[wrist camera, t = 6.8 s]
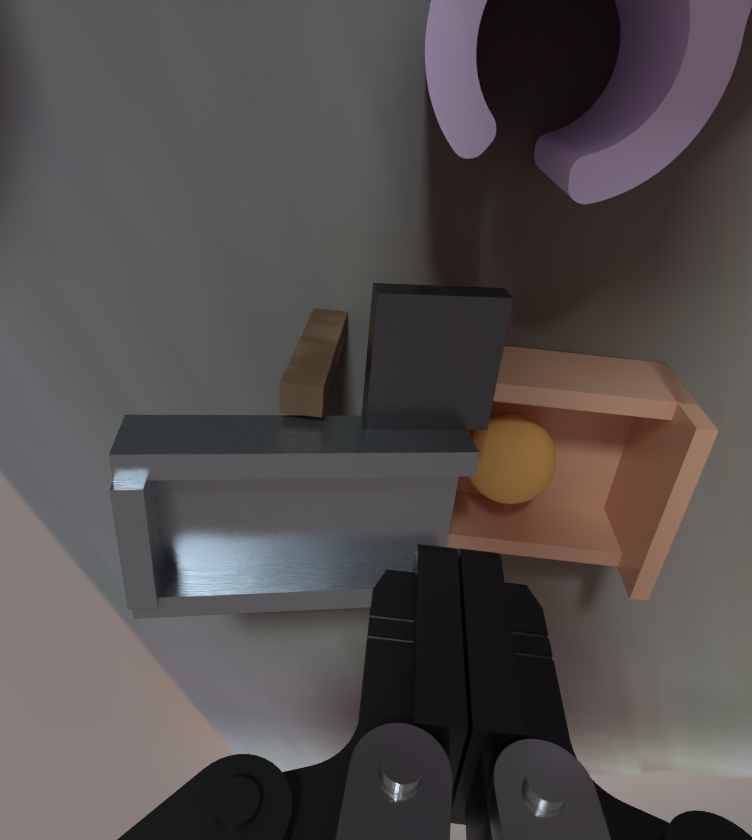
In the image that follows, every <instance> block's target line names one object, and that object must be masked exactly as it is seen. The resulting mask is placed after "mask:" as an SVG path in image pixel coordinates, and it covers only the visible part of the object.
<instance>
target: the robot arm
mask: <svg viewBox="0 0 752 840" xmlns="http://www.w3.org/2000/svg"><path fill="white" fill-rule="evenodd" d="M450 823H455V824H464V825H466V838H467V840H752V837H751V836H750V835H749V834H748V833H746V832H745V831H744V830H743V829H741V828H740V827H738V826H737V825H736V824H734V823H733V822H731V821H729V820H727V819H725V818H723V817H721V816H718V815H716V814H713V813H709V812H705V811H688V812H684V813H682V814H679V815H678V816H676V817H675V818H674V819H673V820H672V821H671V822H670V823H668V822H666V821H664V820H662V819H659V818H657V817H655V816H653V815H650V814H648V813H646V812H643V811H642V810H639V809H637V808H635V807H633V806H630V805H628V804H626V803H624V802H622V801H620V800H618V799H616V798H614V797H613V796H611V795H610V794H608V793H607V792H605V791H604V790H603V789H602V788H601V787H599V786H598V785H597V784H596V783H595V782H594V781H593V780H592V779H591V777H590V775H589V774H588V772H587V771H586V769H585V768H584V767H583V765H582V764H581V763H580V762H579V761H578V760H577V758H576V756H575V753H574V751H573V749H572V745H571V742H570V737H569V733H568V728H567V723H566V718H565V713H564V709H563V704H562V699H561V694H560V689H559V685H558V680H557V675H556V670H555V665H554V661H552V651H551V646H550V641H549V639H548V632H547V627H546V622H545V617H544V613H543V608H542V607H541V605H540V604H539V603H538V601H537V600H536V598H535V597H534V595H533V594H532V592H531V591H530V590H529V588H528V587H527V585H520V584H512V583H504V576H503V570H502V563H501V557H500V554H499V553H495V552H486V551H478V550H469V549H460V548H459V549H458V552H457V549H456V548H449V547H441V546H432V545H423V544H417V546H416V551H415V558H414V564H413V570H412V572H405V571H396V570H387V569H386V571H385V572H384V574H383V575H382V577H381V578H380V579H379V581H378V582H377V584H376V585H375V587H374V588H373V591H372V600H371V609H370V618H369V626H368V635H367V644H366V653H365V663H364V673H363V682H362V692H361V701H360V711H359V720H358V726H357V728H356V731H355V733H354V735H353V737H352V738H351V740H350V741H349V743H348V744H347V745H346V746H345V747H344V748H343V749H342V750H341V751H340V752H339V753H338V754H336V755H335V756H333V757H332V758H330V759H328V760H326V761H324V762H322V763H319V764H316V765H312V766H308V767H304V768H299V769H295V770H290V771H286V772H281V770H280V769H279V768H278V767H277V766H275V765H274V764H273V763H272V762H270V761H268V760H267V759H265V758H262V757H259V756H256V755H250V754H237V755H231V756H227V757H224V758H221V759H219V760H217V761H216V762H213V763H211V764H210V765H209V766H207V767H206V768H204V769H203V770H202V771H201V772H199V773H198V774H197V775H196V776H194V777H193V778H192V779H191V780H190V781H188V782H187V783H186V784H185V785H183V786H182V787H181V788H180V789H179V790H177V791H176V792H175V793H174V794H172V795H171V796H170V797H169V798H168V799H166V800H165V801H164V802H163V803H161V804H160V805H159V806H158V807H157V808H155V809H154V810H153V811H152V812H150V813H149V814H148V815H147V816H146V817H145V818H143V819H142V820H141V821H139V822H138V823H137V824H136V825H135V826H133V827H132V828H131V829H130V830H128V831H127V832H126V833H125V834H124V835H122V836H121V837H120V838H119V839H117V840H450Z"/></svg>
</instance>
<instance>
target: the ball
mask: <svg viewBox="0 0 752 840" xmlns="http://www.w3.org/2000/svg"><path fill="white" fill-rule="evenodd" d="M471 438H472V440H473V441H474V443H475V445H476V447H477V449H478V451H479V455H478V460H477V466H476V471H475V476H469V478H470V480H471V482H472V483H473V485H474V486H475V487H476V488H477V489H478V491H479V492H481V493H482V494H483V495H485V496H486V497H488V498H489V499H492V500H494V501H496V502H500V503H506V504H517V503H523V502H526V501H529V500H531V499H533V498H535V497H536V496H538V495H539V494H540V493H542V492H543V491H544V490H545V489H546V487H547V486H548V485H549V483H550V482H551V480H552V478H553V475H554V472H555V468H556V451H555V447H554V444H553V442H552V439H551V438H550V436H549V434H548V433H547V432H546V431H545V429H544V428H543V427H542V426H541V425H539V424H538V423H536V422H535V421H533V420H532V419H529V418H527V417H524V416H521V415H515V414H505V415H500V416H496V417H493V418H491V419H489V423H488V428H487V430H475V431H474V433H473V434H472V435H471Z"/></svg>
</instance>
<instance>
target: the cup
mask: <svg viewBox="0 0 752 840" xmlns="http://www.w3.org/2000/svg"><path fill="white" fill-rule="evenodd" d="M505 414H515V415H521V416H524V417H527V418H529V419H532V420H533V421H535V422H536V423H538V424H539V425H541V426H542V427H543V428H544V429H545V431H546V432H547V433H548V434H549V436H550V438H551V439H552V442H553V444H554V447H555V451H556V468H555V472H554V475H553V478H552V480H551V482H550V483H549V485H548V486H547V487H546V489H545V490H544V491H543V492H542V493H540V494H539V495H538V496H536V497H535V498H533V499H531V500H529V501H526V502H523V503H517V504H506V503H500V502H496V501H494V500H492V499H489V498H488V497H486V496H485V495H483V494H482V493H481V492H479V491H478V489H477V488H476V487H475V486H474V485H473V483H472V482H471V480H470V478H469V476H459V479H458V484H457V489H456V495H455V500H454V506H453V511H452V517H451V522H450V528H449V533H448V538H447V544H446V547H449V548H456V549H459V548H460V549H469V550H478V551H486V552H495V553H500V554H509V555H518V556H527V557H535V558H544V559H553V560H562V561H571V562H580V563H589V564H597V565H606V566H615V567H618V570H619V572H620V575H621V578H622V580H623V583H624V585H625V588H626V591H627V593H628V596H629V599H636V600H645V601H648V600H649V598H650V595H651V593H652V590H653V588H654V586H655V583H656V581H657V578H658V576H659V573H660V571H661V569H662V566H663V564H664V561H665V559H666V557H667V554H668V552H669V549H670V547H671V545H672V542H673V540H674V537H675V535H676V533H677V530H678V528H679V525H680V523H681V521H682V518H683V516H684V513H685V511H686V508H687V506H688V504H689V501H690V499H691V496H692V494H693V492H694V489H695V487H696V484H697V482H698V480H699V477H700V475H701V472H702V470H703V468H704V465H705V463H706V460H707V458H708V455H709V453H710V451H711V448H712V446H713V443H714V441H715V439H716V436H717V434H718V431H719V430H718V429H717V428H716V427H715V425H714V424H713V423H712V422H711V420H710V419H709V418H708V417H707V415H706V414H705V413H704V412H703V410H702V409H701V408H700V407H699V405H698V404H697V403H696V402H695V400H694V399H693V398H692V397H691V395H690V394H689V393H688V392H687V390H686V389H685V388H684V387H683V385H682V384H681V383H680V382H679V380H678V379H677V378H676V377H675V375H674V374H673V373H672V372H671V370H670V369H669V368H668V366H667V365H666V364H665V363H660V362H651V361H642V360H632V359H623V358H614V357H604V356H595V355H586V354H576V353H567V352H558V351H548V350H539V349H529V348H520V347H511V346H504V349H503V354H502V359H501V364H500V369H499V374H498V379H497V384H496V389H495V394H494V399H493V404H492V409H491V414H490V419H491V418H493V417H496V416H500V415H505ZM474 431H475V430H468V432H469V434H470V436H471V435H472V434H473V433H474Z"/></svg>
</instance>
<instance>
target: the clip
mask: <svg viewBox="0 0 752 840" xmlns="http://www.w3.org/2000/svg"><path fill="white" fill-rule="evenodd" d="M614 1H615V3H616V7H617V10H618V15H619V20H620V48H619V53H618V58H617V62H616V65H615V68H614V71H613V74H612V76H611V78H610V80H609V82H608V84H607V86H606V88H605V90H604V91H603V93H602V94H601V96H600V97H599V98H598V100H597V101H596V102H595V103H594V104H593V106H592V107H591V108H590V109H589V110H588V111H587V112H586V113H584V114H583V115H582V116H581V117H579V118H578V119H577V120H575V121H574V122H572V123H571V124H569V125H567V126H565V127H563V128H561V129H558V130H556V131H552V132H549V133H546V134H544V135H542V136H541V137H540V138H539V139H538V140H537V142H536V145H535V152H534V161H535V164H536V166H537V167H538V168H539V169H540V170H541V171H542V172H543V173H545V174H546V175H547V176H548V177H549V178H550V179H551V180H552V181H553V182H554V183H555V184H557V185H558V186H559V187H560V188H561V189H562V190H563V191H564V192H565V193H566V194H567V195H569V196H570V197H571V198H572V199H573V200H574V201H575V202H577V203H579V204H591V203H595V202H599V201H603V200H606V199H609V198H612V197H615V196H617V195H619V194H622V193H624V192H626V191H628V190H630V189H632V188H634V187H636V186H638V185H640V184H641V183H643V182H645V181H646V180H648V179H649V178H651V177H652V176H654V175H655V174H657V173H658V172H659V171H661V170H662V169H663V168H664V167H666V166H667V165H668V164H669V163H670V162H672V161H673V160H674V159H675V158H676V157H677V156H678V155H679V154H680V153H681V152H682V151H683V150H684V149H685V148H686V147H687V146H688V145H689V144H690V143H691V141H692V140H693V139H694V138H695V137H696V135H697V134H698V133H699V132H700V130H701V129H702V128H703V126H704V125H705V124H706V122H707V121H708V119H709V118H710V116H711V115H712V113H713V111H714V110H715V108H716V107H717V105H718V103H719V101H720V99H721V97H722V95H723V94H724V91H725V89H726V87H727V85H728V83H729V81H730V78H731V76H732V73H733V70H734V68H735V65H736V62H737V59H738V55H739V52H740V48H741V44H742V40H743V35H744V31H745V27H746V23H747V19H748V16H749V13H750V10H751V8H752V0H614ZM486 2H487V0H432V1H431V4H430V9H429V15H428V20H427V28H426V38H425V67H426V78H427V84H428V90H429V94H430V98H431V102H432V106H433V109H434V112H435V115H436V118H437V120H438V123H439V125H440V127H441V130H442V132H443V134H444V135H445V137H446V139H447V141H448V143H449V144H450V146H451V147H452V149H453V150H454V152H455V153H456V154H457V155H458V156H460V157H462V158H466V159H472V158H475V157H477V156H479V155H480V154H482V153H483V152H484V151H485V150H486V148H487V147H488V146H489V145H490V144H491V143H492V141H493V140H494V138H495V135H496V122H495V120H494V117H493V116H492V114H491V112H490V110H489V109H488V107H487V104H486V102H485V100H484V97H483V94H482V91H481V88H480V84H479V79H478V74H477V64H476V47H477V36H478V30H479V25H480V21H481V17H482V13H483V10H484V7H485V5H486Z"/></svg>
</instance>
